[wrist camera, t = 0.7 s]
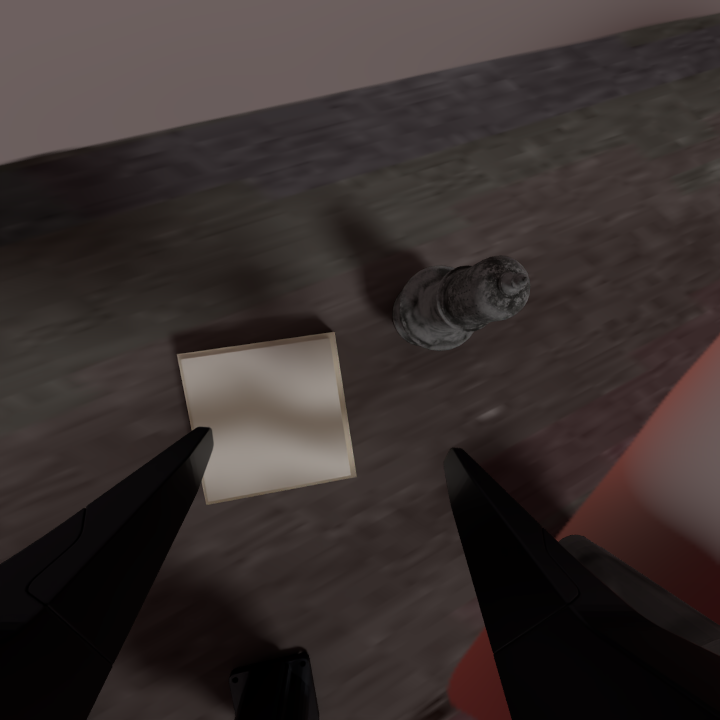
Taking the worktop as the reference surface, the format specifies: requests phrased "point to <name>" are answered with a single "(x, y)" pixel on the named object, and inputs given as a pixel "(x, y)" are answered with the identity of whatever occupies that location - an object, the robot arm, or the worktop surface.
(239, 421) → the wooden tray
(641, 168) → the worktop surface
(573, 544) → the beverage cup
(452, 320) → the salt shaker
